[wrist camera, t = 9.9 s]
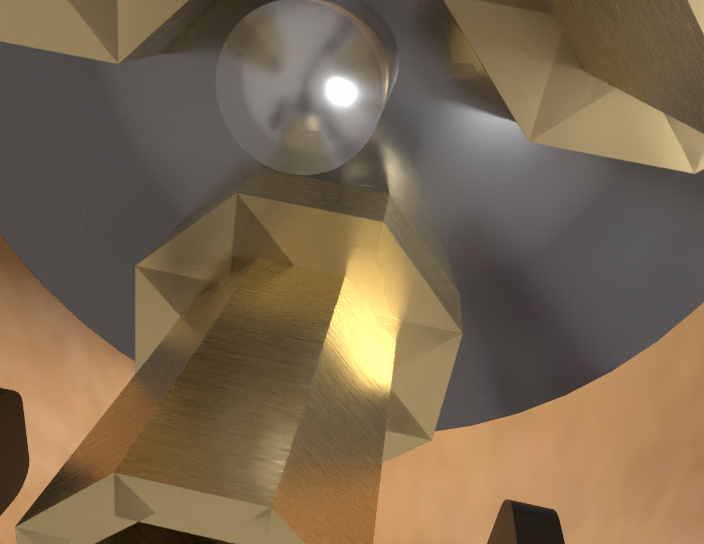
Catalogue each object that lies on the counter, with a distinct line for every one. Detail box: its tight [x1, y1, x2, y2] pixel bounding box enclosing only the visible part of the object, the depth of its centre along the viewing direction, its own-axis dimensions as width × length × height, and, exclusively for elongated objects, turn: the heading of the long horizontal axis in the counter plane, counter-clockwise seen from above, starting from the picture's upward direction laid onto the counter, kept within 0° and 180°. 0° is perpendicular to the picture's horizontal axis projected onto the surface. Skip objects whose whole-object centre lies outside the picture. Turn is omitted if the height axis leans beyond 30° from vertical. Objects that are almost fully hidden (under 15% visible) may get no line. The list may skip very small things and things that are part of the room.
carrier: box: [0, 0, 704, 431], centre depth 11 cm, size 19×19×6 cm
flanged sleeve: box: [15, 168, 463, 544], centre depth 11 cm, size 7×7×8 cm
